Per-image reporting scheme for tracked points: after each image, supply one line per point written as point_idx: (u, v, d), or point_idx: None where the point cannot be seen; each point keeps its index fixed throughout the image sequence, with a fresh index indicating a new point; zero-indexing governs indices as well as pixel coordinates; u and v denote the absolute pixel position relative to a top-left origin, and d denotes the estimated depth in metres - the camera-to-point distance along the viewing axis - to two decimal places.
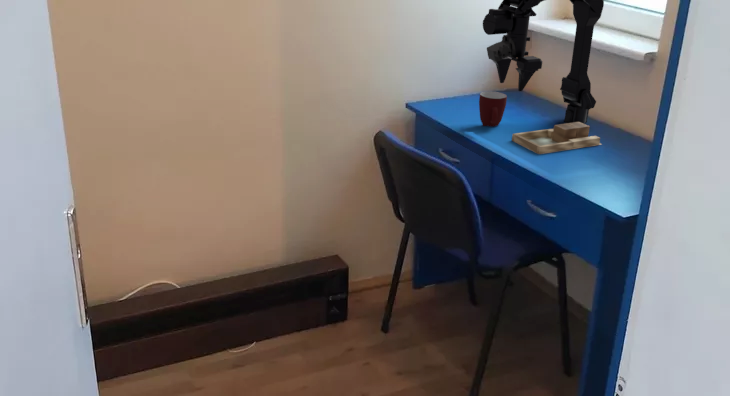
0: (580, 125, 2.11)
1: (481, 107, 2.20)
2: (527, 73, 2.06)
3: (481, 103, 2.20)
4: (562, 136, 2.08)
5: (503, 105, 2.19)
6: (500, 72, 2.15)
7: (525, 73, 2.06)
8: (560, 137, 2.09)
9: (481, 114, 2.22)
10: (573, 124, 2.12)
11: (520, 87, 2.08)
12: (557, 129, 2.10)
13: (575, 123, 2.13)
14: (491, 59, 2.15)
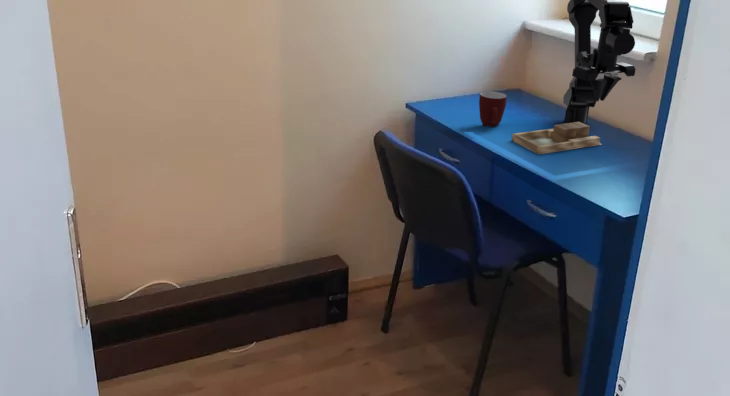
0: (580, 125, 2.11)
1: (481, 107, 2.20)
2: (598, 83, 2.08)
3: (481, 103, 2.20)
4: (562, 136, 2.08)
5: (503, 105, 2.19)
6: None
7: (597, 83, 2.09)
8: (560, 137, 2.09)
9: (481, 114, 2.22)
10: (573, 124, 2.12)
11: (595, 96, 2.11)
12: (557, 129, 2.10)
13: (575, 123, 2.13)
14: None
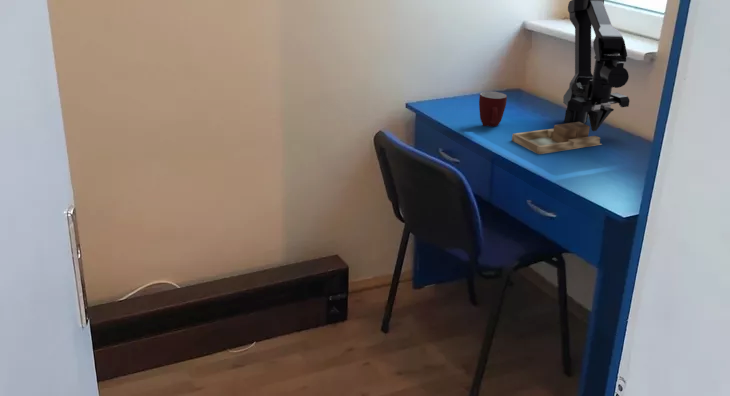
0: (580, 125, 2.11)
1: (481, 107, 2.20)
2: (595, 114, 2.12)
3: (481, 103, 2.20)
4: (562, 136, 2.08)
5: (503, 105, 2.19)
6: None
7: (593, 113, 2.13)
8: (560, 137, 2.09)
9: (481, 114, 2.22)
10: (573, 124, 2.12)
11: (591, 126, 2.15)
12: (557, 129, 2.10)
13: (575, 123, 2.13)
14: None
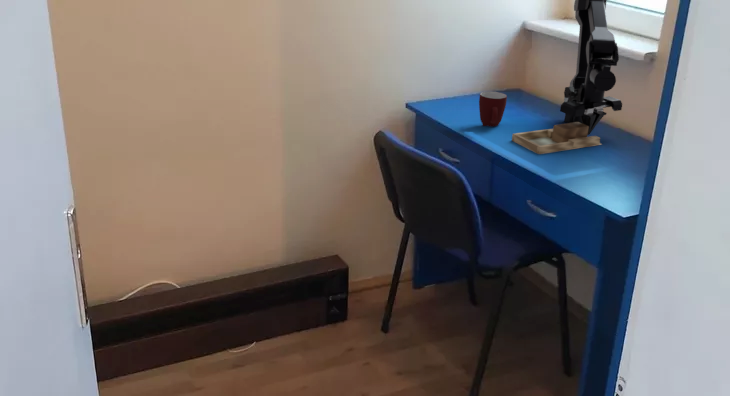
0: (579, 126, 2.11)
1: (481, 107, 2.20)
2: (588, 118, 2.11)
3: (481, 103, 2.20)
4: (562, 136, 2.08)
5: (503, 105, 2.19)
6: None
7: (586, 117, 2.12)
8: (560, 137, 2.09)
9: (481, 114, 2.22)
10: (572, 124, 2.12)
11: None
12: (557, 129, 2.10)
13: (574, 123, 2.13)
14: None
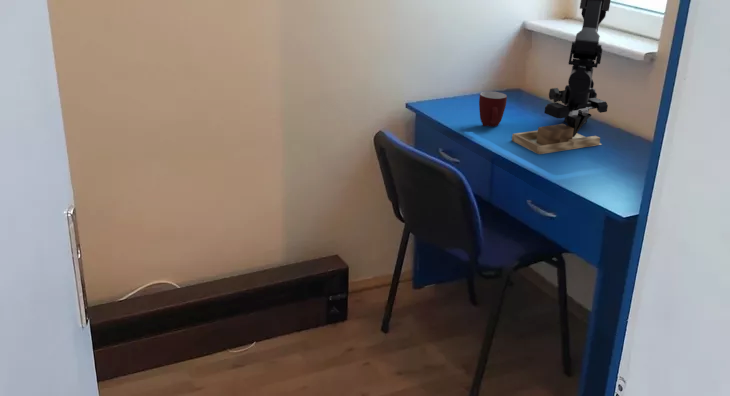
0: (564, 128, 2.08)
1: (481, 107, 2.20)
2: (572, 120, 2.09)
3: (481, 103, 2.20)
4: (546, 139, 2.06)
5: (503, 105, 2.19)
6: None
7: (571, 119, 2.09)
8: (545, 139, 2.06)
9: (481, 114, 2.22)
10: (557, 126, 2.09)
11: None
12: (541, 131, 2.07)
13: (559, 125, 2.10)
14: None
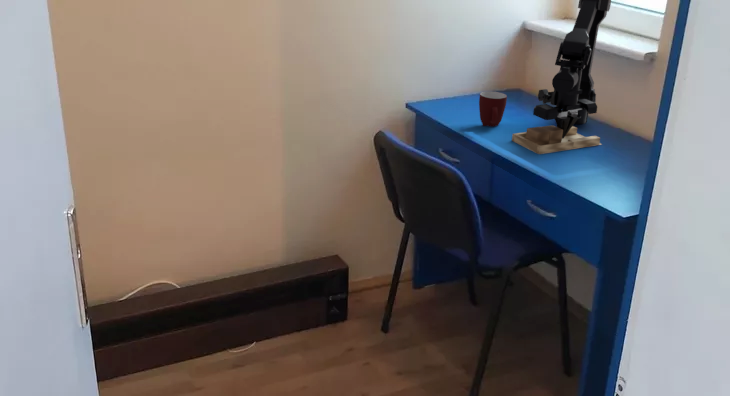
0: (553, 129, 2.07)
1: (481, 107, 2.20)
2: (562, 121, 2.07)
3: (481, 103, 2.20)
4: (535, 140, 2.04)
5: (503, 105, 2.19)
6: None
7: (560, 120, 2.08)
8: (533, 140, 2.05)
9: (481, 114, 2.22)
10: (546, 128, 2.08)
11: None
12: (530, 132, 2.06)
13: (548, 127, 2.09)
14: None
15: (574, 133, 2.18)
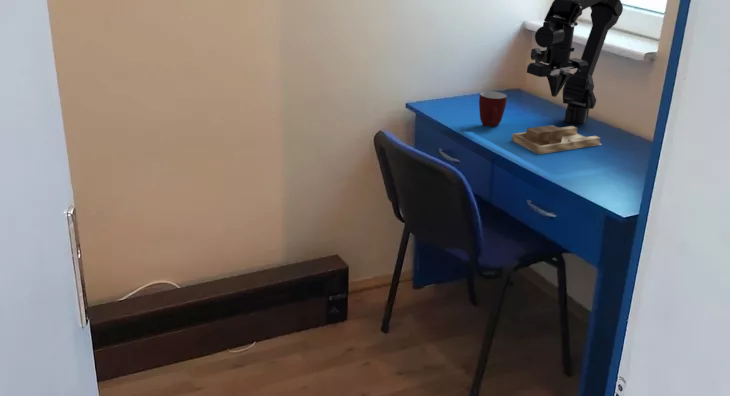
0: (553, 129, 2.07)
1: (481, 107, 2.20)
2: (554, 79, 2.11)
3: (481, 103, 2.20)
4: (535, 140, 2.04)
5: (503, 105, 2.19)
6: None
7: (553, 78, 2.12)
8: (533, 140, 2.05)
9: (481, 114, 2.22)
10: (546, 128, 2.08)
11: (551, 92, 2.14)
12: (530, 132, 2.06)
13: (548, 126, 2.09)
14: None
15: (574, 133, 2.18)
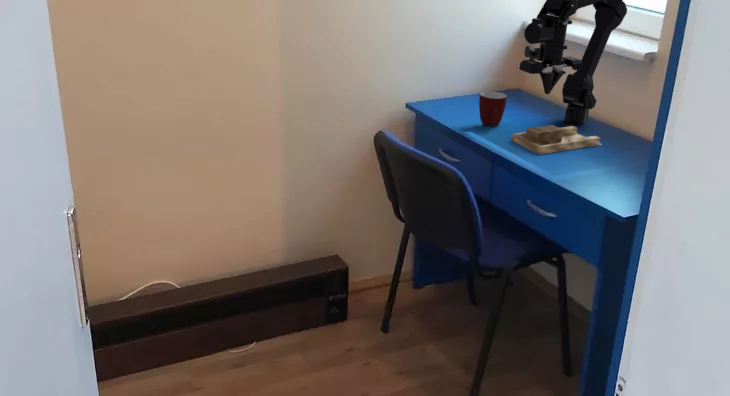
0: (553, 129, 2.07)
1: (481, 107, 2.20)
2: (547, 77, 2.13)
3: (481, 103, 2.20)
4: (535, 140, 2.04)
5: (503, 105, 2.19)
6: None
7: (546, 76, 2.14)
8: (533, 140, 2.05)
9: (481, 114, 2.22)
10: (546, 128, 2.08)
11: (544, 89, 2.16)
12: (530, 132, 2.06)
13: (548, 126, 2.09)
14: None
15: (574, 133, 2.18)
